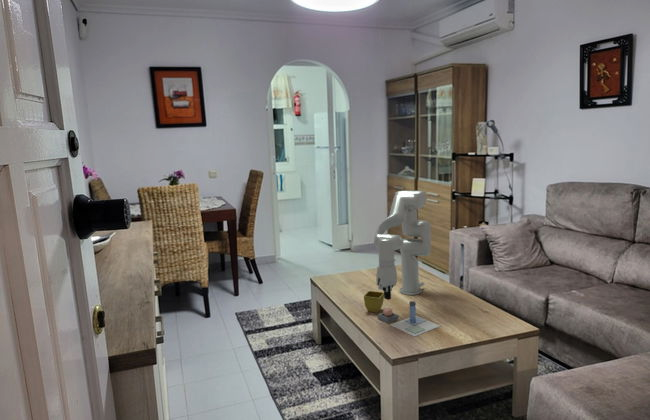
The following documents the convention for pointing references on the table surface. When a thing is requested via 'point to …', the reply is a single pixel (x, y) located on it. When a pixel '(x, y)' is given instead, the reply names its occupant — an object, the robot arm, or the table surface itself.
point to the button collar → (388, 319)
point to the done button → (388, 312)
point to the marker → (412, 311)
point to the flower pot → (373, 301)
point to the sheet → (415, 326)
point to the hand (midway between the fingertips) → (387, 298)
